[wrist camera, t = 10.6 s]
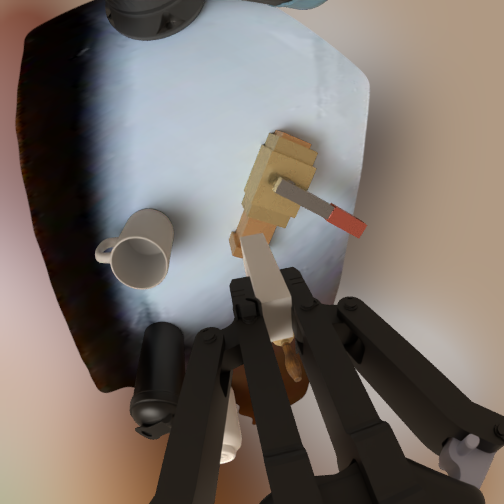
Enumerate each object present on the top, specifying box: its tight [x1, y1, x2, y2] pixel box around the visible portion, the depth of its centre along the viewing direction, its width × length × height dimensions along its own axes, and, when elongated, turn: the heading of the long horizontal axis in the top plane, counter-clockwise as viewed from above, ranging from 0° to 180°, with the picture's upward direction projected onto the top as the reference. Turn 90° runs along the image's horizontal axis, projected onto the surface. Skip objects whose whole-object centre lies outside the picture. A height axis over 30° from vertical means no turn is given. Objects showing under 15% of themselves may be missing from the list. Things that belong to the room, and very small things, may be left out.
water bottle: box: [130, 322, 185, 440], centre depth 48 cm, size 10×10×23 cm
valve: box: [229, 130, 318, 258], centre depth 45 cm, size 20×7×7 cm, turn 159°
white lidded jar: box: [220, 387, 242, 464], centre depth 60 cm, size 12×12×20 cm
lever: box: [272, 177, 367, 238], centre depth 41 cm, size 15×2×4 cm, turn 62°
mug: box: [95, 209, 174, 289], centre depth 42 cm, size 12×8×11 cm
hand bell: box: [273, 333, 301, 382], centre depth 54 cm, size 8×8×16 cm
